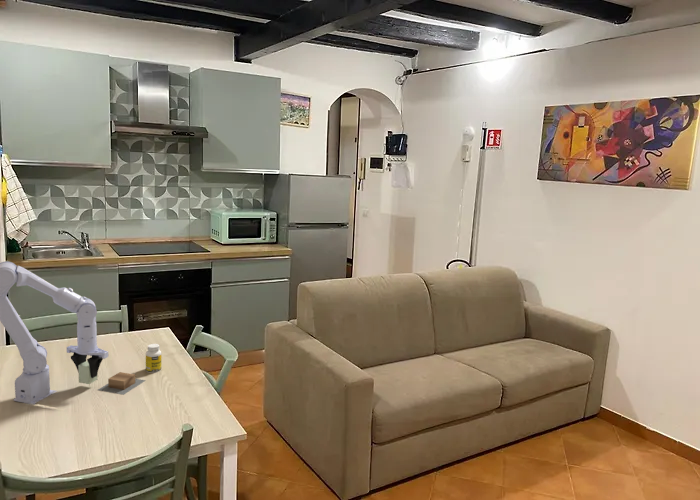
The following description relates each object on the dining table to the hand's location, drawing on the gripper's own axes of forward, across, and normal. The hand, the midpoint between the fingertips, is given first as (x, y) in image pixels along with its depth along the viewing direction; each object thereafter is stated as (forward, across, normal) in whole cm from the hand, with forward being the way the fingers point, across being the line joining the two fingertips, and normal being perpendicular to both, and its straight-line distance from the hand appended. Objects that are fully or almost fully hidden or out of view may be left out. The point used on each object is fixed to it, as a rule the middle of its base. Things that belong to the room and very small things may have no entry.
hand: (88, 375), depth 181 cm
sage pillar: (+2, 0, 0) cm, 2 cm away
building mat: (+4, -9, -5) cm, 11 cm away
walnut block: (+4, -9, -5) cm, 11 cm away
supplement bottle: (+5, -11, -20) cm, 23 cm away
